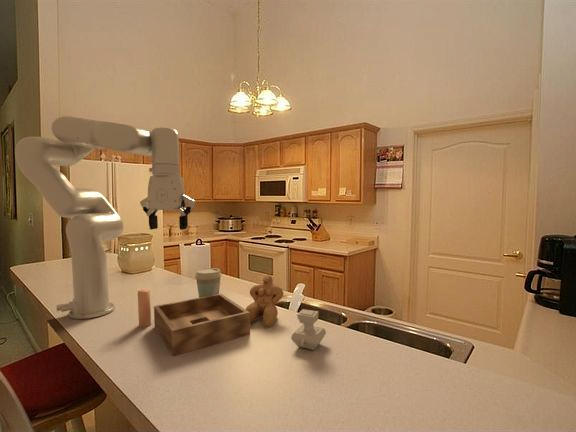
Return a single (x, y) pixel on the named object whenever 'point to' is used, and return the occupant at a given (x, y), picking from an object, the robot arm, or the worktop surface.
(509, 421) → the worktop surface
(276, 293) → the figurine
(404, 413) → the worktop surface
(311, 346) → the stamp
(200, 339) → the bore box
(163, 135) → the robot arm
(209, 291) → the coffee cup
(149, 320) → the peg
